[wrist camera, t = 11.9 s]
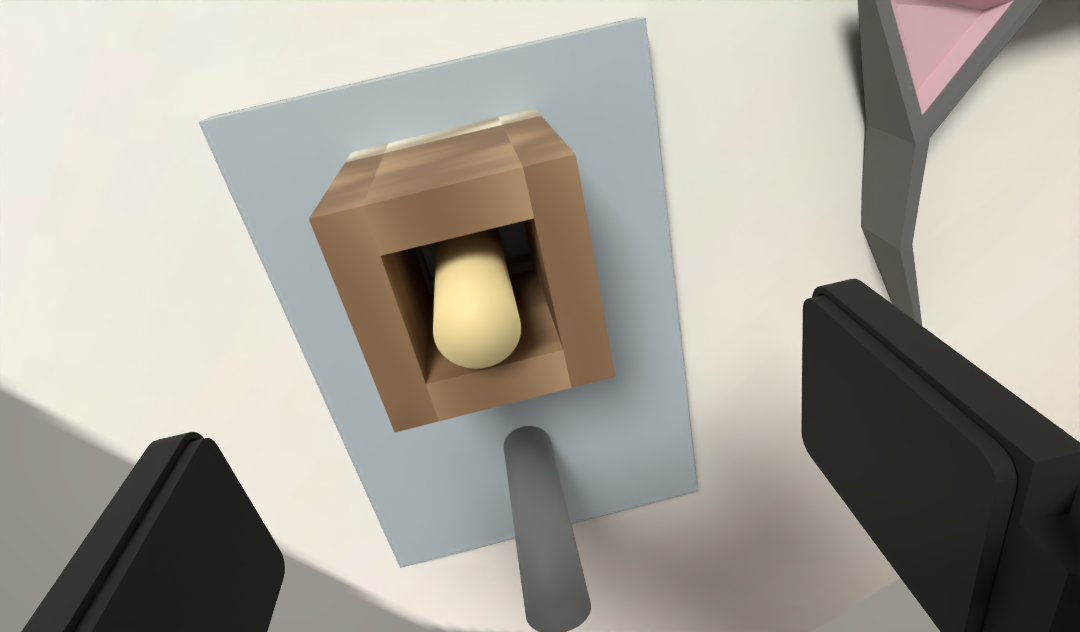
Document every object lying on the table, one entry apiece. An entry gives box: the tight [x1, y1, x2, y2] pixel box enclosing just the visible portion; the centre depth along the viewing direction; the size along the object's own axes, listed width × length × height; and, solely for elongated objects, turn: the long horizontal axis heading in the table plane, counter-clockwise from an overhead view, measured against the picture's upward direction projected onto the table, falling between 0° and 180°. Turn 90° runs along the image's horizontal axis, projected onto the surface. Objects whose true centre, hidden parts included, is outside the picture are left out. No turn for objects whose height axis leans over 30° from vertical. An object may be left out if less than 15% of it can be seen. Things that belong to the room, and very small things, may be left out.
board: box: [199, 18, 698, 632], centre depth 20 cm, size 14×20×9 cm
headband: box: [858, 0, 1043, 326], centre depth 22 cm, size 14×3×15 cm
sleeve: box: [309, 108, 615, 433], centre depth 18 cm, size 6×6×7 cm
